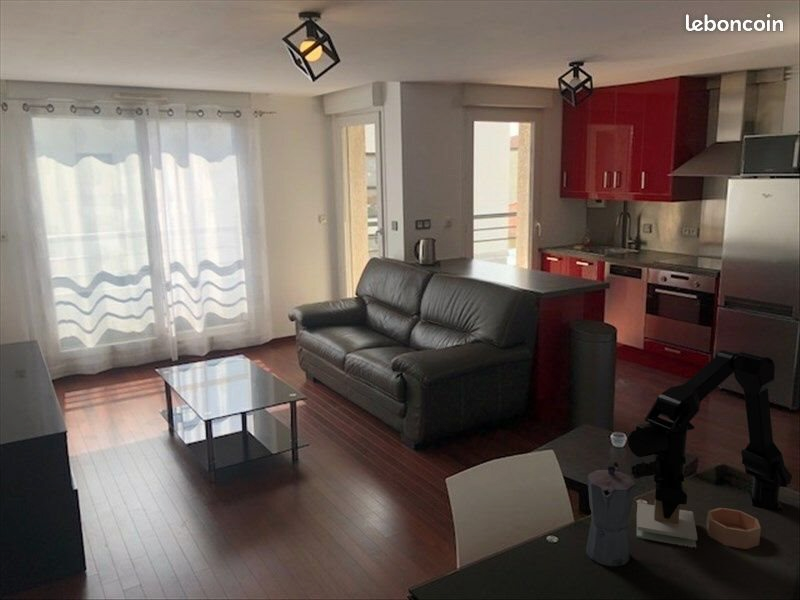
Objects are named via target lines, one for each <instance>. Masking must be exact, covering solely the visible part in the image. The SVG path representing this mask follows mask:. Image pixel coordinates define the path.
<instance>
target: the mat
mask: <svg viewBox="0 0 800 600" xmlns="http://www.w3.org/2000/svg"><path fill="white" fill-rule="evenodd" d="M636 538H637V539H638V538H639V539H643V540H649V541H655V542H660V543H661V542H662V543H666V544H672V545H676V544H677V545H676V546H682V547H687V546H688V548H693V547H695V548H694V549H696V548H697V542H696V541H697V540H692V539H686V538H680V537H675V536H669V535H663V534H658V533H652V532H646V531H640V530H637V529H636ZM683 545H684V546H683Z"/></svg>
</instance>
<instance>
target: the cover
mask: <svg viewBox="0 0 800 600" xmlns="http://www.w3.org/2000/svg"><path fill="white" fill-rule="evenodd" d="M636 507H637V509H636V531H637V530H640V531H646V532H652V533H658V534H663V535H669V536H675V537H680V538H686V539H692V540H695V541H698V535H697V534H698V533H697V528H696V523H695V516H694V512H693V511H691V510H690V511H689V510H685V509H680V507H681V504H679V505H678V506H677V508H676V509H675V511H674V512H673V514H672V515H671V517H670V518H669V519H666V518H664V514H663V507H662V501H658V500H656V499H655V498H654V504H647V503H641V502H637V506H636Z"/></svg>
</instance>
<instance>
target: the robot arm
mask: <svg viewBox="0 0 800 600" xmlns="http://www.w3.org/2000/svg"><path fill="white" fill-rule="evenodd" d="M775 371H776V367H775V362H774V359H771V358H770V356H769V357H768V356H763V355H761V354H757V353H753V352H752V353H751V352H747V351H740V352H739V353H737V352H735V351H730V350H726V349H722V350H719V351H717V352H716V354H715V355H714V358H712V359H711V360H709V362H708V363H706V364H705V365H704V366H703V367H702V368H701V369H699V371H697V372H696V373H695V374H693V376H692V377H690V378H689V379H688V380H687V381H685V382H684V383H682V384H679V385H675V386H671V387H669V388H668V389H666V390H665V391H663V392H661V393H660V394H659V395H658V396H657V397H656V399H655V401H654V404H653V405H652V407H651V408H650V410H649V411H648V414H647V415H646V417H645V419H644V421H645V422H646V423H644V424H643V423H642V424H641V423H639V424H636V428H635V430H633V431H631V432H630V433H629V435H628V438H627V443H628V447H629V450H630V451H631V452H632V454H633V455H634V456H635V457H632V458H630V459H629V468H630V471H631V475H632V479H641V478H645V477H651V476H653V480H654V482H655V484H654V500H655V499H656V500H658V501H662V507H663V514H664V518H666V519H669V518H670V517H671V515H672V514H673V512H674V511H675V509H676V508H677V506H678V505H679V504H680V505H687V502H688V493H687V492H688V491H687V488H686V487H685V486H684V485H683V482H685V474H684V473H685V472H684V471H685V465H686V462H687V460H686V458H687V457H686V450H687V449H686V447H687V436H688V435H687V434H688V431H693V430H694V429H695V425H693V424H692V423H691V421H692V419H693V418H695V416H696V415H697V413H699V411H700V406H701V402H702V401H703V400H704V399H705V398H706V397H707V396H708V395H709V394H711V393H712V392H713V391H714V390H715V389H716V388H717V387H718V386H720V385H721V384H722V383H723V382H724V381H725V380H727V379H728V378H729V377H730V376H731V375H732V374H734V378H735V381H737V383H738V384H739V387H741V389H742V390H743V394H744V395H743V397H744V403H745V412H746V420H747V421H746V423H747V428H748V429H747V430H748V437H749V438H748V439H749V443H748V444H747V445H746V447H745V448H744V449H742V450H741V453H740V454H741V458H742V461H741V464H742V465H743V466H744V470H745V475H749V476H752V477H753V485H752V492H748V497H749V499H750V502H751V504H752V506H755V507H762V508H768V509H774V510H779V511H782V510H783V505H782V504H781V502H780V494H781V493H780V491H781V487H782V488H787V487H788V485H790V484H791V481H792V478H793V475H792V474H791V473H790V471H789V469H787V467H786V466H785V461H784V458H783V454H782V452H781V450H780V449H779V448H778V447H777V445H776V443H775V442H774V439H773V437H774V436H773V428H772V427H773V426H772V417H771V407H770V399H769V387H770V386H771V385H772V383H773V382H774V380H775ZM662 417H663V418H662ZM664 418H665V419H664ZM667 419H668V420H667Z"/></svg>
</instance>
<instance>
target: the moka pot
mask: <svg viewBox="0 0 800 600" xmlns="http://www.w3.org/2000/svg"><path fill="white" fill-rule="evenodd" d="M586 479H587V488H588V489H587V491H588V501H589V502H588V503H589V509H590V511H591V521H590V526H589V527H590V528H589V532H588V538H587V542H586V548H585V553H586V555H587V556H588V558H589V559H590V560H592V561H593V562H595V563H597V564H599V565H603V566H606V567H621V566H623V565H626V564H627V563H628V562H629V561H630V558H631V555H630V554H631V552H630V543H629V533H628V518H629V517H630V516H631V511H632V506H633V502H634V501H633V500H634V496H635V492H636V486H637V484H636V482H635V480H634V478H633V476H631V475H629V474H626V473H624V472H621V471H620V468H619V464H618V462H614V463H613V465H611V466H607V469H597V470H594V471H593V472H591V473H589V474H588V475H587V477H586Z"/></svg>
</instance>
